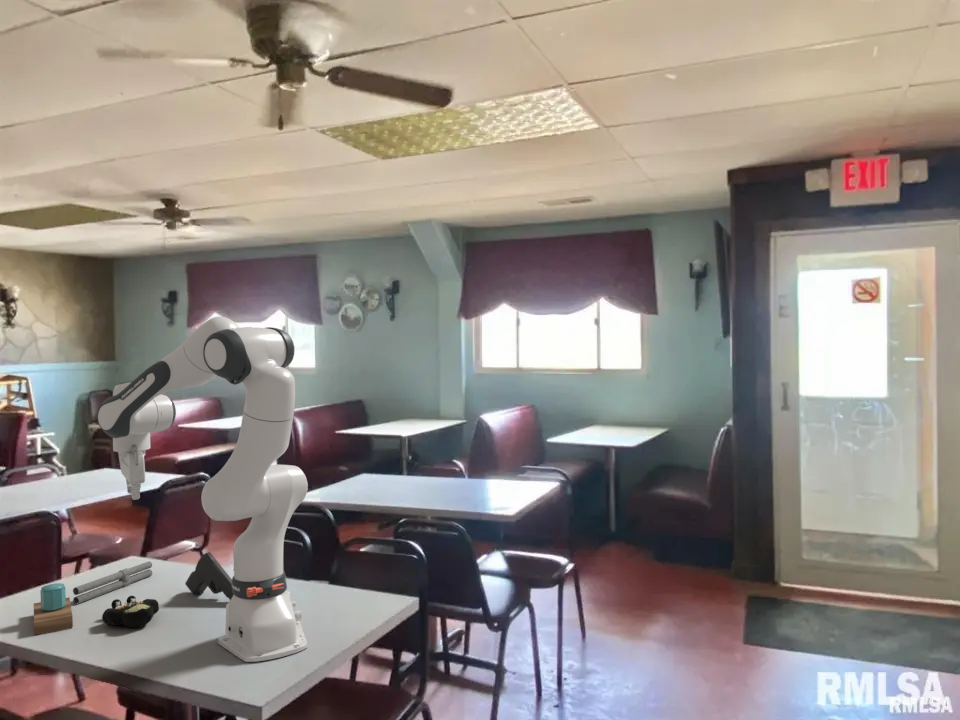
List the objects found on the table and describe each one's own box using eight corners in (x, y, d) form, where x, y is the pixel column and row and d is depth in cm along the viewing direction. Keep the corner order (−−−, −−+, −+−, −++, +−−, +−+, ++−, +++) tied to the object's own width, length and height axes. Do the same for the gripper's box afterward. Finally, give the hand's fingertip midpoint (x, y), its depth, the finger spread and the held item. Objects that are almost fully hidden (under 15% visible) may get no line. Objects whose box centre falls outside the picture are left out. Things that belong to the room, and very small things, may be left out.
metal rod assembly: (79, 605, 195) (79, 587, 195) (72, 604, 196) (71, 586, 196) (154, 576, 219) (154, 560, 219) (147, 576, 220) (147, 559, 220)
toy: (147, 591, 191) (167, 588, 181) (151, 621, 190) (171, 619, 179) (95, 604, 183) (112, 601, 172) (98, 635, 182) (116, 634, 171)
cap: (60, 601, 187) (59, 582, 187) (68, 606, 184) (67, 585, 184) (38, 607, 183) (38, 587, 183) (46, 611, 180) (45, 591, 180)
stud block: (72, 627, 178) (71, 595, 178) (34, 635, 174) (33, 601, 174) (69, 608, 192) (68, 578, 192) (33, 615, 188) (32, 584, 188)
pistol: (229, 627, 197) (247, 593, 193) (219, 631, 194) (236, 597, 190) (193, 580, 205) (210, 546, 201) (183, 584, 202) (199, 549, 198)
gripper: (150, 446, 184) (152, 501, 184) (140, 438, 201) (141, 488, 202) (122, 448, 181) (124, 504, 181) (114, 440, 198) (116, 491, 198)
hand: (133, 496), depth 192 cm, fingers open, 8 cm apart
